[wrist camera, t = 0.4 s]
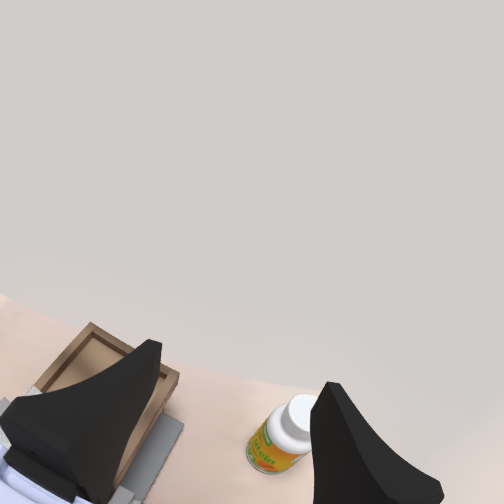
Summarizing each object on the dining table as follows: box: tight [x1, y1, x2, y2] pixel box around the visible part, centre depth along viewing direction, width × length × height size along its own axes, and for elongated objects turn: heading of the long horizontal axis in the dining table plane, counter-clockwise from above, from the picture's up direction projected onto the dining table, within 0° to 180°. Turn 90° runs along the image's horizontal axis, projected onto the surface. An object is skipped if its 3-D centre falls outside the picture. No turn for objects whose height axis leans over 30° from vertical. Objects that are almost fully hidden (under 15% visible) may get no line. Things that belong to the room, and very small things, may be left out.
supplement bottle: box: [246, 394, 318, 474], centre depth 24 cm, size 5×5×10 cm
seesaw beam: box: [27, 322, 180, 502], centre depth 14 cm, size 26×10×4 cm, turn 165°
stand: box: [0, 397, 184, 504], centre depth 16 cm, size 23×14×6 cm, turn 165°
